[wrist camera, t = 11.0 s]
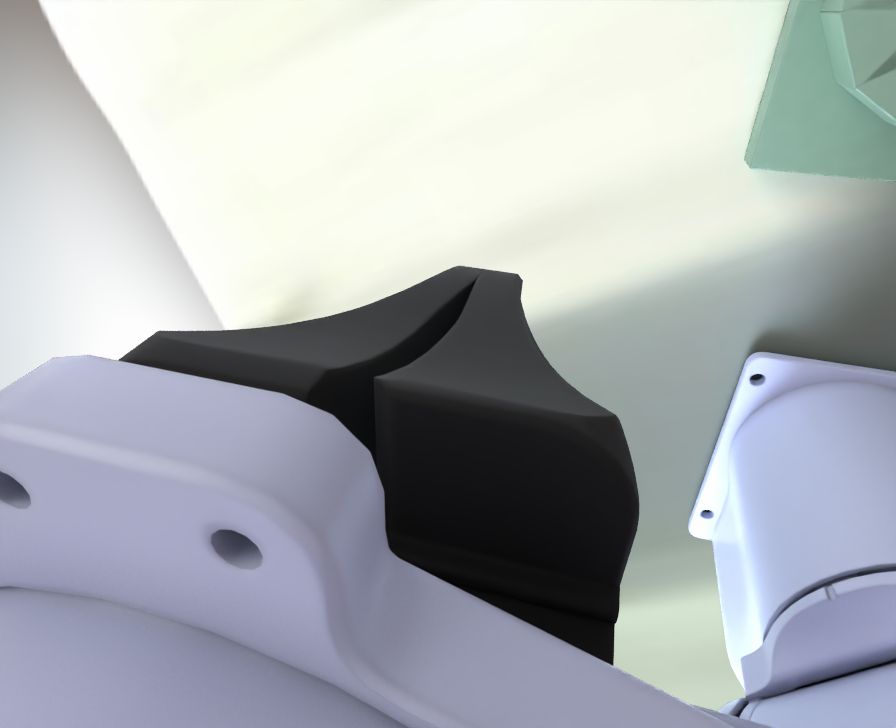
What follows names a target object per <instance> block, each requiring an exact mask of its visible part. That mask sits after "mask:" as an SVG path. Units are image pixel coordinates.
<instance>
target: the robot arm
mask: <svg viewBox="0 0 896 728" xmlns="http://www.w3.org/2000/svg"><path fill="white" fill-rule="evenodd" d="M522 282H523V280H522V279H521V278H520V276H519V275H518V274H514V273H507V272H500V271H493V270H486V269H479V268H472V267H465V266H456V267H453V268H451V269H448V270H446V271H444V272H442V273H440V274H437V275H435V276H433V277H431V278H429V279H427V280H425V281H423V282H421V283H419V284H416V285H414V286H412V287H410V288H408V289H406V290H404V291H401V292H399V293H396V294H394V295H391V296H389V297H386V298H384V299H381V300H379V301H376V302H374V303H371V304H369V305H366V306H363V307H360V308H357V309H353V310H350V311H346V312H343V313H339V314H336V315H332V316H328V317H323V318H318V319H313V320H308V321H302V322H297V323H292V324H286V325H279V326H271V327H263V328H252V329H240V330H223V331H158V332H156V333H155V334H154V335H152V336H151V337H149V338H148V339H147V340H145V341H144V342H142V343H141V344H140V345H138V346H137V347H136V348H135V349H133V350H132V351H130V352H129V353H127V354H126V355H125V356H123V357H122V358H121V359H119V360H118V361H117V360H112V359H107V358H102V357H97V356H92V355H82V356H69V357H56V358H52V359H50V360H49V361H47V362H46V363H44V364H42V365H41V366H39V367H38V368H36V369H34V370H33V371H31V372H30V373H28V374H26V375H25V376H23V377H22V378H20V379H18V380H17V381H15V382H14V383H12V384H10V385H9V386H7V387H6V388H4V389H2V390H1V391H0V728H896V372H893V371H887V370H880V369H873V368H867V367H860V366H854V365H847V364H841V363H834V362H828V361H821V360H814V359H808V358H801V357H795V356H788V355H782V354H775V353H768V352H757V353H754V354H752V355H751V356H749V357H748V359H747V360H746V362H745V365H744V368H743V370H742V373H741V376H740V379H739V382H738V385H737V387H736V390H735V393H734V396H733V399H732V401H731V404H730V407H729V410H728V413H727V416H726V418H725V421H724V424H723V427H722V430H721V432H720V435H719V438H718V441H717V444H716V447H715V449H714V452H713V455H712V458H711V461H710V463H709V466H708V469H707V472H706V475H705V478H704V480H703V483H702V486H701V489H700V492H699V494H698V497H697V500H696V503H695V506H694V509H693V511H692V514H691V517H690V520H689V531H690V533H691V534H692V535H693V536H696V537H698V538H703V539H708V540H712V542H713V550H714V557H715V565H716V572H717V580H718V587H719V595H720V602H721V610H722V618H723V625H724V633H725V640H726V647H727V652H728V656H729V660H730V662H731V665H732V668H733V670H734V672H735V674H736V676H737V678H738V679H739V681H740V683H741V684H742V686H743V687H744V689H745V694H746V698H741V699H737V700H734V701H731V702H729V703H727V704H726V705H725V706H723V707H722V708H721V709H720V710H719V711H718V712H717V711H713V710H709V709H706V708H702V707H698V706H695V705H691V704H688V703H686V702H684V701H682V700H680V699H678V698H676V697H674V696H672V695H670V694H668V693H666V692H664V691H662V690H660V689H658V688H656V687H654V686H652V685H650V684H648V683H646V682H644V681H642V680H640V679H638V678H636V677H634V676H632V675H630V674H628V673H626V672H624V671H622V670H620V669H618V668H616V667H614V666H613V658H614V625H615V623H616V621H617V618H618V613H619V596H620V583H621V580H622V577H623V573H624V570H625V567H626V564H627V561H628V557H629V554H630V551H631V548H632V545H633V541H634V538H635V535H636V532H637V526H638V520H639V496H638V489H637V483H636V477H635V472H634V467H633V463H632V459H631V455H630V451H629V448H628V444H627V441H626V438H625V435H624V432H623V429H622V426H621V423H620V420H619V419H618V417H617V416H616V415H615V414H613V413H612V412H610V411H608V410H607V409H605V408H603V407H602V406H600V405H598V404H597V403H595V402H593V401H592V400H590V399H588V398H587V397H585V396H584V395H582V394H581V393H580V392H579V391H577V390H576V389H575V388H574V387H572V386H571V385H570V384H569V383H567V382H566V381H565V380H564V379H563V378H562V377H561V376H560V375H559V374H558V373H557V372H556V371H555V369H554V368H553V367H552V366H551V365H550V364H549V362H548V361H547V360H546V358H545V357H544V355H543V354H542V352H541V350H540V349H539V347H538V345H537V343H536V342H535V340H534V338H533V335H532V333H531V331H530V328H529V326H528V324H527V321H526V318H525V314H524V311H523V307H522V303H521V290H522ZM754 374H762V375H764V376H763V377H762V378H761V379H759V380H752V379H750V378H751V376H752V375H754ZM704 510H710V512H703V511H704Z"/></svg>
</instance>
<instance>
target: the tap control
mask: <svg viewBox="0 0 896 728" xmlns="http://www.w3.org/2000/svg"><path fill="white" fill-rule="evenodd" d="M744 160H745V161H746V163H747V165H748V166H749V168H751V169H762V170H773V171H784V172H795V173H806V174H817V175H828V176H839V177H850V178H861V179H872V180H883V181H894V182H896V0H790V3H789V6H788V10H787V13H786V17H785V20H784V24H783V27H782V30H781V34H780V37H779V41H778V44H777V48H776V51H775V55H774V58H773V61H772V65H771V68H770V72H769V75H768V79H767V82H766V86H765V89H764V92H763V96H762V99H761V103H760V106H759V110H758V113H757V117H756V120H755V123H754V127H753V130H752V134H751V137H750V141H749V144H748V148H747V151H746V154H745V158H744Z"/></svg>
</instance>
